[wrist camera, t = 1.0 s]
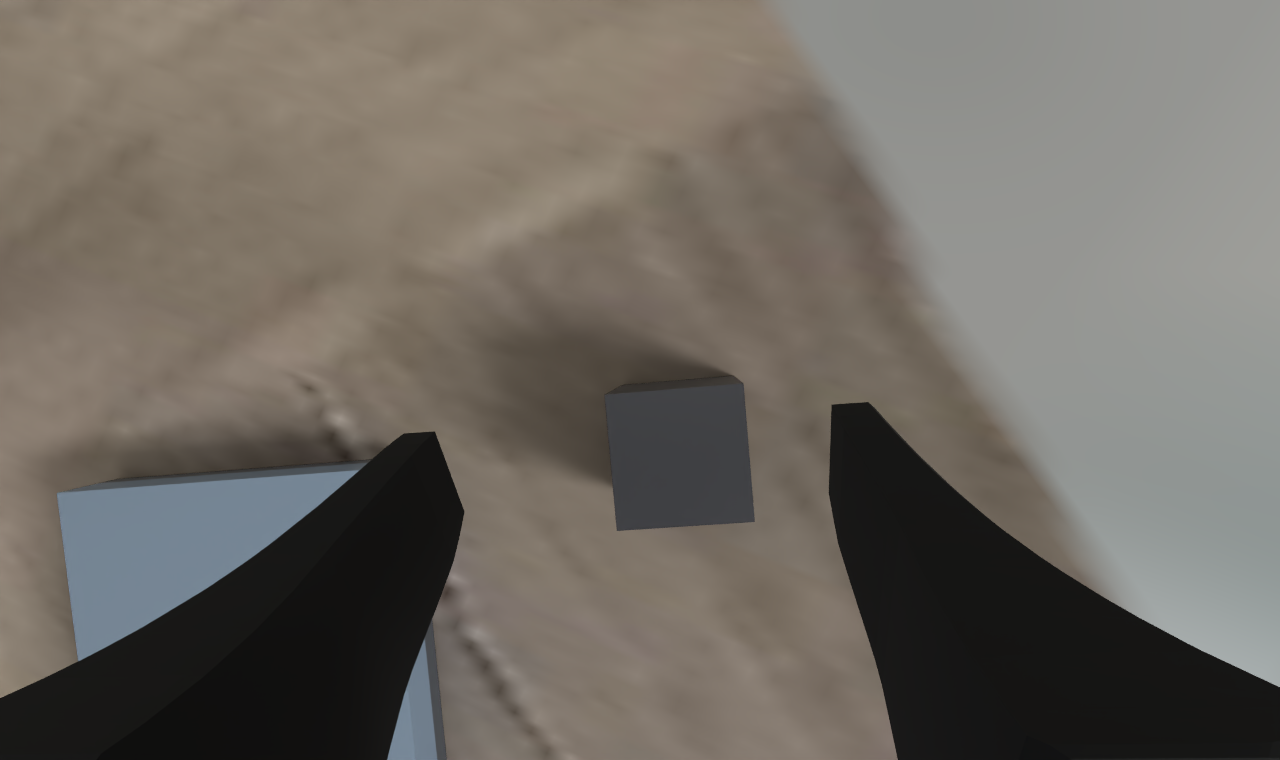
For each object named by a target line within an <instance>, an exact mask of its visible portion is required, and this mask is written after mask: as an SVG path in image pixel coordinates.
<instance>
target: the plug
mask: <svg viewBox="0 0 1280 760" xmlns="http://www.w3.org/2000/svg"><path fill="white" fill-rule="evenodd" d="M605 405H606V416H607V427H608V438H609V449H610V460H611V471H612V482H613V493H614V504H615V515H616V526H617V531H621V530H637V529H652V528H667V527H683V526H698V525H713V524H728V523H744V522H755V519H754V507H753V495H752V483H751V470H750V458H749V446H748V434H747V421H746V409H745V397H744V385H743V383H742V382H741V381H740V380H739V379H737V378H736V377H735V376H723V377H712V378H700V379H688V380H676V381H664V382H652V383H640V384H628V385H622V386H620V387H618V388H616V389H614V390H613V391H611V392H609V393H607V394H605Z"/></svg>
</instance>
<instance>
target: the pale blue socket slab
mask: <svg viewBox="0 0 1280 760" xmlns="http://www.w3.org/2000/svg"><path fill="white" fill-rule="evenodd" d="M371 460H372V459H371ZM371 460H358V461H345V462H332V463H319V464H306V465H293V466H280V467H267V468H254V469H241V470H228V471H215V472H202V473H189V474H176V475H163V476H150V477H137V478H124V479H115V480H111V481H106V482H102V483H98V484H94V485H89V486H85V487H81V488H76V489H72V490H68V491H63V492H59V493H57V499H58V506H59V514H60V522H61V530H62V538H63V546H64V554H65V561H66V569H67V577H68V585H69V593H70V601H71V609H72V616H73V624H74V632H75V640H76V648H77V656H78V661H80V660H82V659H84V658H86V657H88V656H90V655H92V654H94V653H96V652H98V651H99V650H101V649H103V648H105V647H107V646H109V645H111V644H113V643H114V642H116V641H118V640H120V639H122V638H124V637H125V636H127V635H129V634H131V633H133V632H135V631H136V630H138V629H140V628H142V627H143V626H145V625H147V624H148V623H150V622H152V621H153V620H155V619H157V618H158V617H160V616H162V615H163V614H165V613H167V612H168V611H170V610H172V609H173V608H175V607H177V606H178V605H180V604H182V603H183V602H185V601H187V600H188V599H190V598H192V597H193V596H195V595H197V594H198V593H200V592H202V591H203V590H205V589H206V588H208V587H209V586H211V585H212V584H214V583H215V582H217V581H218V580H220V579H221V578H223V577H224V576H226V575H227V574H229V573H230V572H232V571H233V570H235V569H236V568H237V567H239V566H240V565H242V564H243V563H245V562H246V561H247V560H249V559H250V558H252V557H253V556H254V555H256V554H257V553H259V552H260V551H261V550H263V549H264V548H265V547H267V546H268V545H269V544H271V543H272V542H273V541H274V540H276V539H277V538H278V537H279V536H281V535H282V534H283V533H284V532H286V531H287V530H288V529H289V528H291V527H292V526H293V525H295V524H296V523H297V522H298V521H300V520H301V519H302V518H303V517H305V516H306V515H307V514H308V513H310V512H311V511H312V510H313V509H315V508H316V507H317V506H318V505H320V504H321V503H322V502H323V501H324V500H325V499H327V498H328V497H329V496H330V495H331V494H332V493H334V492H335V491H336V490H337V489H338V488H339V487H341V486H342V485H343V484H344V483H345V482H346V481H348V480H349V479H350V478H351V477H352V476H353V475H355V474H356V473H357V472H358V471H359V470H360V469H362V468H363V467H364V466H365V465H366V464H367V463H368V462H370V461H371ZM387 760H447V759H446V749H445V739H444V730H443V720H442V710H441V701H440V691H439V681H438V672H437V662H436V652H435V643H434V633H433V623H432V620H431V623H430V625H429V628H428V631H427V633H426V636H425V639H424V641H423V644H422V646H421V649H420V652H419V654H418V657H417V660H416V662H415V665H414V667H413V670H412V673H411V676H410V679H409V682H408V685H407V688H406V691H405V694H404V698H403V701H402V705H401V709H400V713H399V716H398V720H397V724H396V728H395V731H394V735H393V739H392V743H391V746H390V750H389V755H388V759H387Z"/></svg>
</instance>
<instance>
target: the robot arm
mask: <svg viewBox="0 0 1280 760" xmlns="http://www.w3.org/2000/svg"><path fill="white" fill-rule="evenodd" d="M829 496H830V502H831V507H832V513H833V518H834V524H835V529H836V534H837V539H838V544H839V547H840V551H841V554H842V557H843V560H844V564H845V567H846V570H847V573H848V576H849V579H850V583H851V586H852V589H853V592H854V595H855V598H856V601H857V605H858V608H859V611H860V614H861V617H862V620H863V623H864V626H865V630H866V633H867V636H868V639H869V642H870V645H871V648H872V651H873V655H874V658H875V661H876V665H877V668H878V672H879V676H880V679H881V683H882V687H883V692H884V696H885V701H886V706H887V710H888V715H889V720H890V724H891V729H892V734H893V738H894V743H895V748H896V753H897V758H898V760H1280V687H1278V686H1276V685H1273V684H1271V683H1269V682H1267V681H1265V680H1263V679H1261V678H1258V677H1256V676H1254V675H1252V674H1250V673H1248V672H1246V671H1244V670H1242V669H1239V668H1237V667H1235V666H1233V665H1231V664H1229V663H1226V662H1225V661H1222V660H1220V659H1218V658H1216V657H1214V656H1212V655H1210V654H1207V653H1205V652H1203V651H1201V650H1199V649H1197V648H1195V647H1193V646H1191V645H1189V644H1187V643H1185V642H1183V641H1182V640H1180V639H1178V638H1176V637H1174V636H1172V635H1170V634H1169V633H1167V632H1165V631H1163V630H1161V629H1159V628H1157V627H1155V626H1154V625H1152V624H1150V623H1148V622H1146V621H1144V620H1142V619H1140V618H1139V617H1137V616H1135V615H1133V614H1132V613H1130V612H1128V611H1126V610H1125V609H1123V608H1121V607H1119V606H1118V605H1116V604H1114V603H1112V602H1111V601H1109V600H1107V599H1105V598H1104V597H1102V596H1101V595H1099V594H1097V593H1096V592H1094V591H1093V590H1091V589H1089V588H1088V587H1086V586H1084V585H1083V584H1081V583H1080V582H1078V581H1076V580H1075V579H1073V578H1072V577H1070V576H1068V575H1067V574H1065V573H1064V572H1062V571H1061V570H1059V569H1058V568H1056V567H1054V566H1053V565H1051V564H1050V563H1048V562H1047V561H1045V560H1044V559H1043V558H1041V557H1040V556H1038V555H1037V554H1035V553H1034V552H1033V551H1031V550H1030V549H1028V548H1027V547H1026V546H1024V545H1023V544H1022V543H1020V542H1019V541H1017V540H1016V539H1015V538H1013V537H1012V536H1011V535H1009V534H1008V533H1006V532H1005V531H1004V530H1002V529H1001V528H1000V527H999V526H997V525H996V524H995V523H994V522H992V521H991V520H990V519H989V518H987V517H986V516H985V515H984V514H983V513H981V512H980V511H979V510H978V509H977V508H976V507H974V506H973V505H972V504H971V503H970V502H968V501H967V500H966V499H965V498H964V497H963V496H962V495H960V494H959V493H958V492H957V491H956V490H955V489H954V488H953V487H952V486H950V485H949V484H948V483H947V482H946V481H945V480H944V479H943V478H942V477H941V476H940V475H939V474H938V473H937V472H936V471H935V470H934V469H933V468H931V467H930V466H929V465H928V464H927V463H926V462H925V461H924V460H923V459H922V458H921V457H920V456H919V455H918V454H917V453H916V452H915V451H914V450H913V449H912V448H911V447H910V446H909V445H908V444H907V443H906V441H905V440H904V439H903V438H902V437H901V436H900V435H899V434H898V433H897V432H896V431H895V430H894V429H893V428H892V427H891V426H890V424H889V423H888V422H887V421H886V420H885V419H884V418H883V417H882V416H881V415H880V413H879V412H878V411H877V410H876V409H875V408H874V407H873V406H872V405H871V404H870V403H868V402H864V403H849V404H835V405H832V412H831V443H830V473H829ZM463 516H464V509H463V507H462V504H461V501H460V499H459V496H458V493H457V490H456V488H455V485H454V482H453V480H452V477H451V474H450V471H449V469H448V466H447V463H446V461H445V458H444V455H443V452H442V450H441V447H440V444H439V441H438V439H437V436H436V433H435V432H421V433H406V434H403V435H401V436H400V437H399V438H397V439H396V440H395V441H394V442H392V443H391V444H390V445H389V446H387V447H386V448H385V449H384V450H383V451H381V452H380V453H379V454H378V455H377V456H375V457H374V458H373V459H372V460H371V461H370V462H368V463H367V464H366V465H365V466H364V467H363V468H362V469H360V470H359V471H358V472H357V473H356V474H355V475H353V476H352V477H351V478H350V479H349V480H348V481H346V482H345V483H344V484H343V485H342V486H341V487H339V488H338V489H337V490H336V491H335V492H334V493H332V494H331V495H330V496H329V497H328V498H327V499H325V500H324V501H323V502H322V503H321V504H320V505H318V506H317V507H316V508H315V509H313V510H312V511H311V512H310V513H308V514H307V515H306V516H305V517H303V518H302V519H301V520H300V521H298V522H297V523H296V524H295V525H293V526H292V527H291V528H289V529H288V530H287V531H286V532H284V533H283V534H282V535H281V536H279V537H278V538H277V539H276V540H274V541H273V542H272V543H271V544H269V545H268V546H267V547H265V548H264V549H263V550H261V551H260V552H259V553H257V554H256V555H254V556H253V557H252V558H250V559H249V560H247V561H246V562H245V563H243V564H242V565H240V566H239V567H237V568H236V569H235V570H233V571H232V572H230V573H229V574H227V575H226V576H224V577H223V578H221V579H220V580H218V581H217V582H215V583H214V584H212V585H211V586H209V587H208V588H206V589H205V590H203V591H202V592H200V593H198V594H197V595H195V596H193V597H192V598H190V599H188V600H187V601H185V602H183V603H182V604H180V605H178V606H177V607H175V608H173V609H172V610H170V611H168V612H167V613H165V614H163V615H162V616H160V617H158V618H157V619H155V620H153V621H152V622H150V623H148V624H147V625H145V626H143V627H142V628H140V629H138V630H136V631H135V632H133V633H131V634H129V635H127V636H125V637H124V638H122V639H120V640H118V641H116V642H114V643H113V644H111V645H109V646H107V647H105V648H103V649H101V650H99V651H98V652H96V653H94V654H92V655H90V656H88V657H86V658H84V659H82V660H80V661H78V662H76V663H74V664H72V665H70V666H68V667H66V668H64V669H62V670H60V671H58V672H56V673H54V674H52V675H50V676H48V677H46V678H44V679H41V680H39V681H37V682H35V683H33V684H31V685H28V686H26V687H24V688H22V689H20V690H17V691H15V692H13V693H11V694H9V695H6V696H4V697H2V698H0V760H387V759H388V755H389V750H390V746H391V743H392V739H393V735H394V731H395V728H396V724H397V720H398V716H399V713H400V709H401V705H402V701H403V698H404V694H405V691H406V688H407V685H408V682H409V679H410V676H411V673H412V670H413V667H414V665H415V662H416V660H417V657H418V654H419V652H420V649H421V646H422V644H423V641H424V639H425V636H426V633H427V631H428V628H429V625H430V623H431V620H432V618H433V615H434V612H435V610H436V607H437V605H438V602H439V599H440V597H441V594H442V591H443V588H444V586H445V583H446V580H447V578H448V575H449V572H450V569H451V567H452V564H453V561H454V557H455V553H456V549H457V545H458V540H459V536H460V531H461V526H462V521H463Z"/></svg>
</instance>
